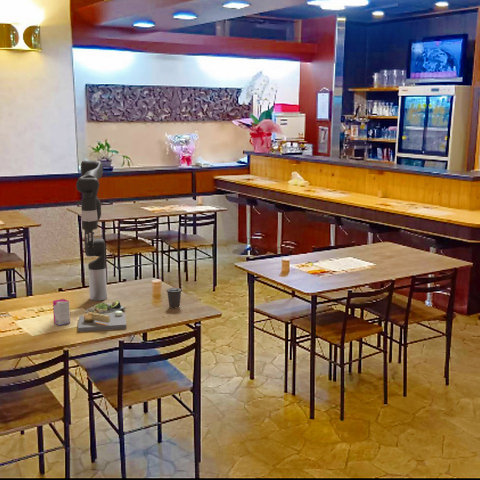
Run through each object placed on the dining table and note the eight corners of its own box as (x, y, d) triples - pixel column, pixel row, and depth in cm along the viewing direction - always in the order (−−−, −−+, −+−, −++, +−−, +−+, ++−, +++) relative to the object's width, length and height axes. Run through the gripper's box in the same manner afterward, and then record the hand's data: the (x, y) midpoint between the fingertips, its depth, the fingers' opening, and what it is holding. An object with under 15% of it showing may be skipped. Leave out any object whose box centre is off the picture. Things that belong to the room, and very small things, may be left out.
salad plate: (107, 320, 302) (106, 311, 301) (78, 315, 309) (77, 306, 308) (129, 309, 319) (129, 301, 318) (101, 305, 326) (101, 296, 326)
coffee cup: (179, 309, 318) (179, 291, 316) (164, 308, 319) (164, 290, 317) (184, 305, 326) (183, 286, 324) (169, 304, 327) (169, 286, 325)
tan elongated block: (89, 318, 297) (88, 310, 296) (112, 322, 290) (111, 314, 289) (81, 321, 293) (81, 313, 292) (105, 325, 286) (104, 317, 285)
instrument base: (79, 319, 302) (79, 312, 301) (124, 316, 306) (124, 309, 306) (78, 332, 284) (77, 324, 284) (126, 328, 289) (126, 321, 288)
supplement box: (70, 323, 296) (69, 300, 294) (59, 326, 292) (58, 303, 290) (64, 320, 300) (63, 298, 298) (53, 323, 296) (52, 300, 294)
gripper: (81, 217, 302) (83, 251, 305) (81, 221, 289) (82, 257, 293) (97, 216, 304) (99, 251, 307) (97, 221, 291) (99, 256, 294)
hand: (91, 254), depth 300 cm, fingers closed
